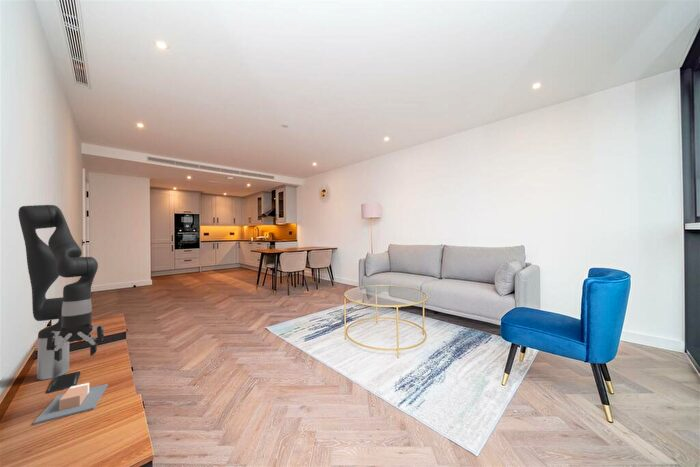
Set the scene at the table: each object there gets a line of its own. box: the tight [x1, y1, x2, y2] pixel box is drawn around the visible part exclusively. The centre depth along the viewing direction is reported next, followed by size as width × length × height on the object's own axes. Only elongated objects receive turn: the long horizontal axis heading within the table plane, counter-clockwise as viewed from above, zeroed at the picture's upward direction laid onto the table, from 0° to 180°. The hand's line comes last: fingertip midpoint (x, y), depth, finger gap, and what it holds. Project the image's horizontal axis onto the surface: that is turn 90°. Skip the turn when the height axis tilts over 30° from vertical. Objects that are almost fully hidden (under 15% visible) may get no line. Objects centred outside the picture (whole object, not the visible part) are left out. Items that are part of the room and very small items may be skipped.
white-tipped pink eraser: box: [59, 382, 90, 411], centre depth 94 cm, size 10×5×4 cm, turn 31°
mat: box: [32, 383, 109, 426], centre depth 94 cm, size 18×14×1 cm
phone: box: [47, 371, 81, 394], centre depth 108 cm, size 8×1×15 cm
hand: (76, 357), depth 95 cm, fingers open, 8 cm apart
